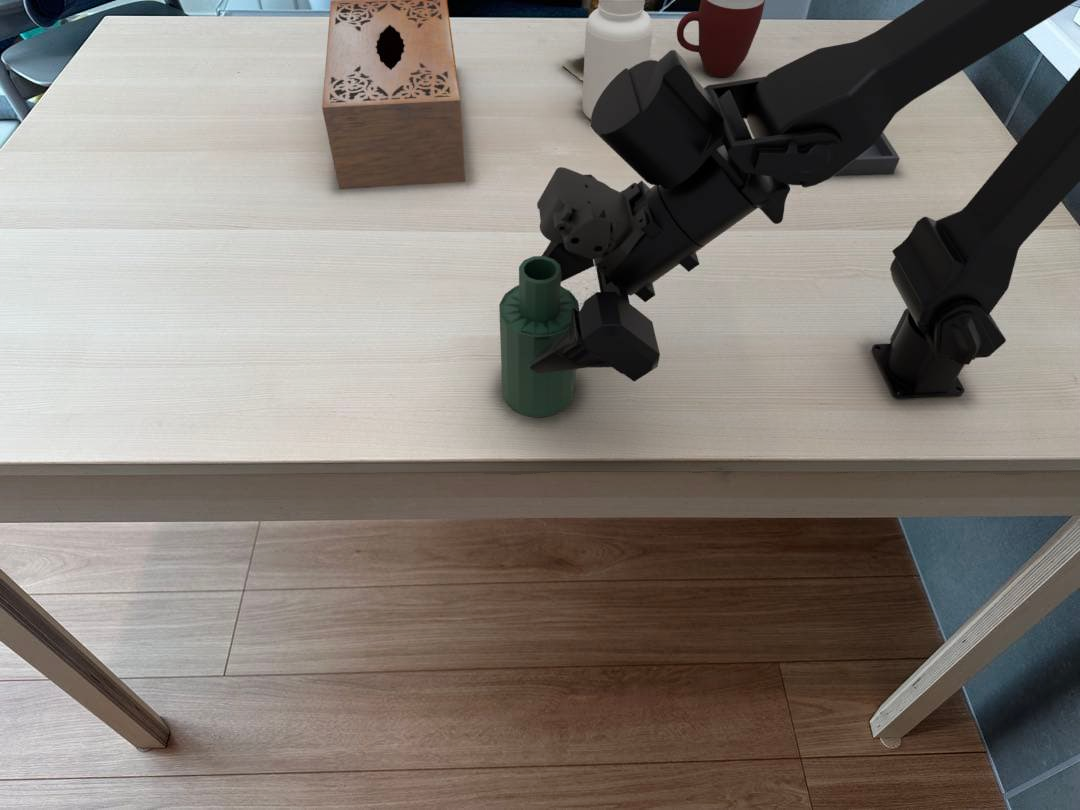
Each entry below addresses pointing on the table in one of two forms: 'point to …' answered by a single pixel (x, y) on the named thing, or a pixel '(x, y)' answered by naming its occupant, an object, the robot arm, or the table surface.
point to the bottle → (535, 338)
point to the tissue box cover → (392, 94)
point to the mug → (723, 33)
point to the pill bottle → (613, 45)
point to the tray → (874, 160)
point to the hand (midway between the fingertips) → (528, 328)
